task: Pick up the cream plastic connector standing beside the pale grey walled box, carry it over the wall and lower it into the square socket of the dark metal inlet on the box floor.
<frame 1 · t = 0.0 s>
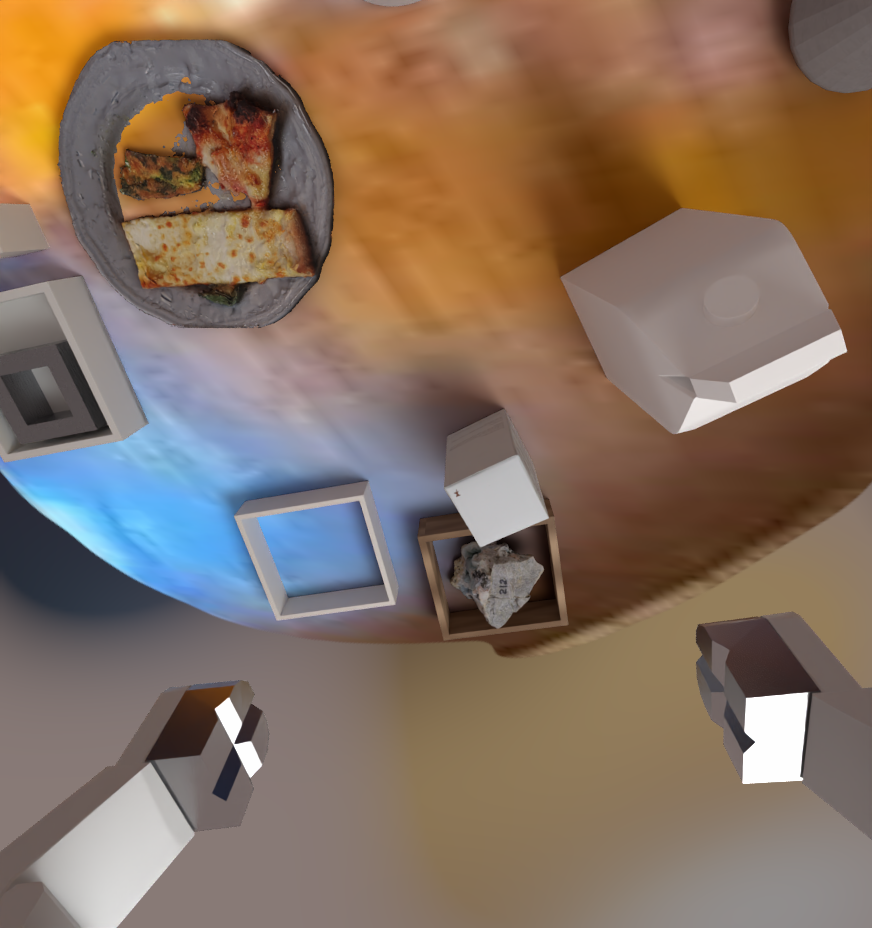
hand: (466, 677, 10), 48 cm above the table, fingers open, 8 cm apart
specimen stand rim: (493, 562, 66), on the table
connector: (22, 231, 53), on the table
supplement box: (490, 448, 60), on the table
food plate: (208, 198, 51), on the table
inlet: (67, 383, 59), resting on walled box
walled box: (58, 366, 58), on the table
milk: (641, 298, 53), on the table
mineral specimen: (493, 561, 66), on the table
open square frame: (324, 545, 66), on the table
coffee pot: (842, 86, 45), on the table
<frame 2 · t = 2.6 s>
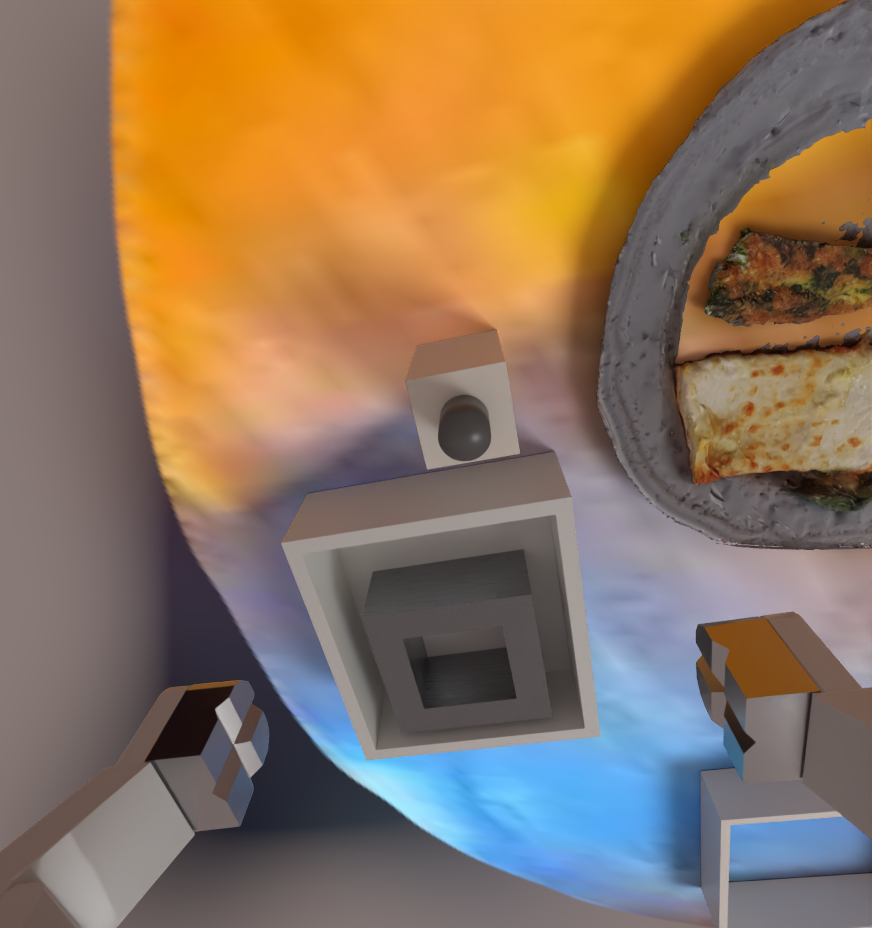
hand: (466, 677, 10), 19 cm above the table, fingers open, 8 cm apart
connector: (463, 376, 27), on the table
food plate: (857, 318, 26), on the table
inlet: (461, 612, 34), resting on walled box
walled box: (455, 587, 33), on the table
open square frame: (803, 826, 41), on the table
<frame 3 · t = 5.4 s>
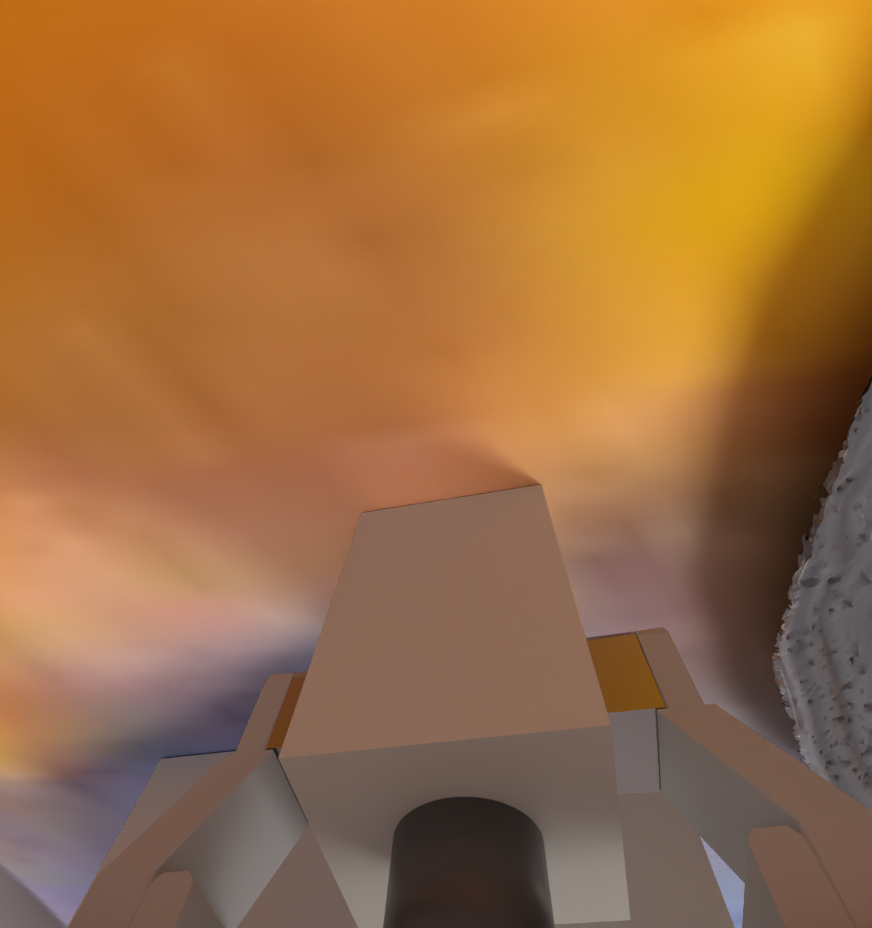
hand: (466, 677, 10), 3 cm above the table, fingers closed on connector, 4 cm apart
connector: (465, 573, 13), on the table, touching gripper
walled box: (447, 898, 18), on the table
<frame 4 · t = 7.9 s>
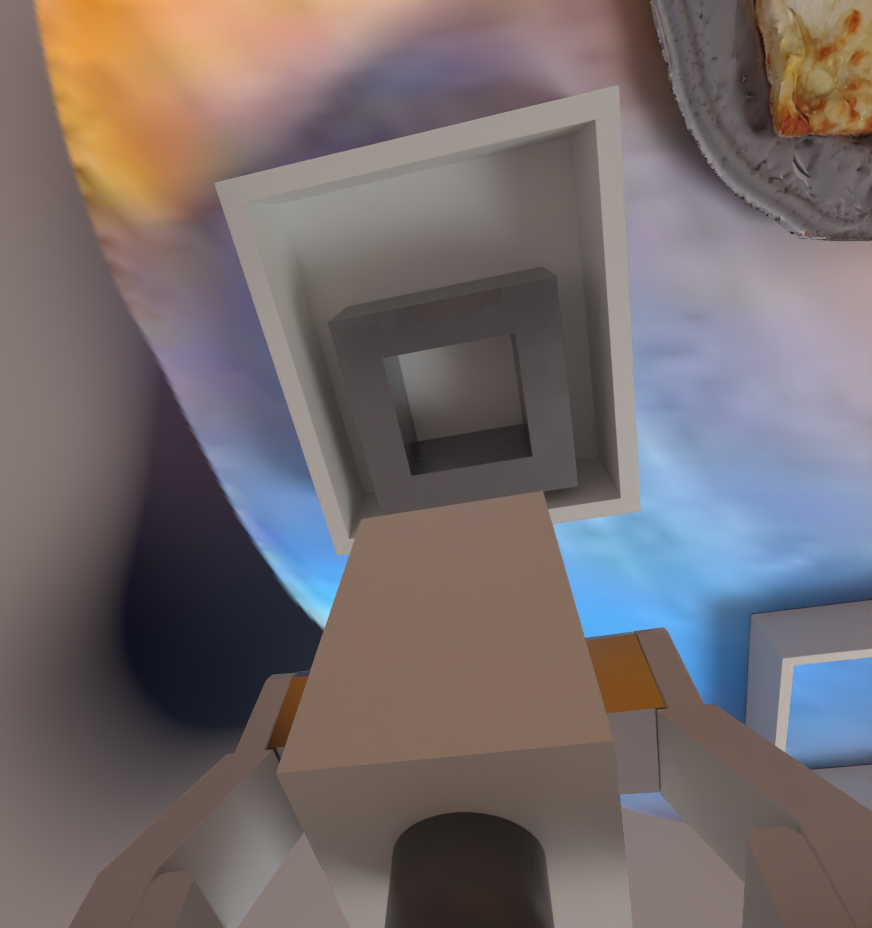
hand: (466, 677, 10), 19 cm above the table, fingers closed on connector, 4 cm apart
connector: (466, 579, 12), point 16 cm above the table, touching gripper
inlet: (460, 378, 27), resting on walled box
walled box: (452, 338, 26), on the table
when the fingers open (5 cm above the table, at t = 10.5 s): connector drops 2 cm, resting on walled box.
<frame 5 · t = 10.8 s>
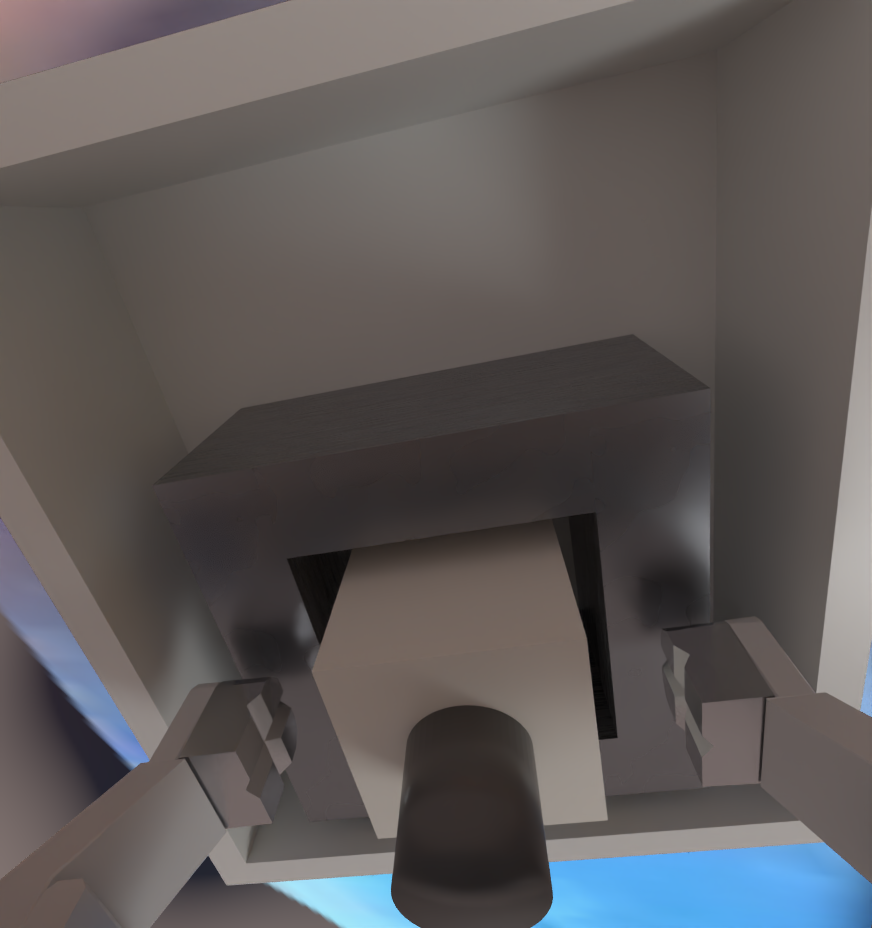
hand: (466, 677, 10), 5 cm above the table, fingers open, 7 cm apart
connector: (466, 541, 14), point 1 cm above the table, touching walled box
inlet: (463, 528, 14), resting on walled box
walled box: (449, 461, 14), on the table
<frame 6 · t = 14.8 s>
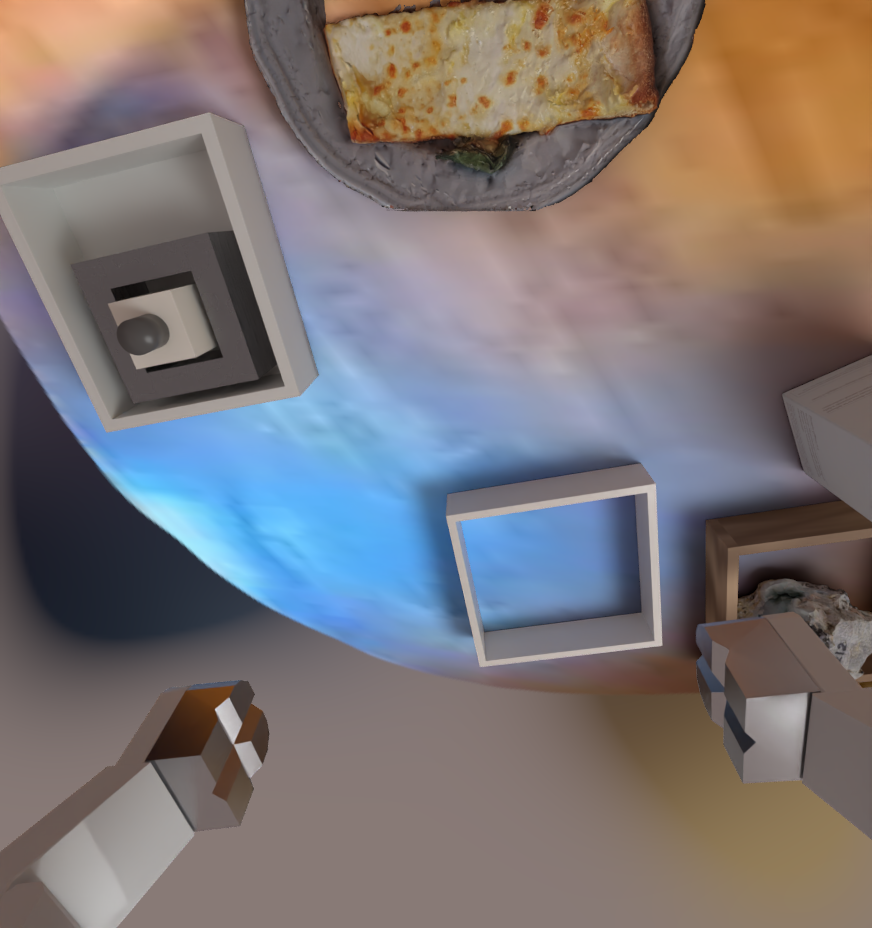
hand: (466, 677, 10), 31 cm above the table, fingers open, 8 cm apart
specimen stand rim: (799, 583, 45), on the table
connector: (197, 314, 38), point 1 cm above the table, touching walled box
supplement box: (841, 412, 39), on the table
inlet: (200, 311, 38), resting on walled box
walled box: (189, 282, 37), on the table
mineral specimen: (783, 607, 47), on the table
open square frame: (552, 558, 46), on the table
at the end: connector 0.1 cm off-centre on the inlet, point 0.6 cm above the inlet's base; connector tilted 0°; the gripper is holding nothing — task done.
